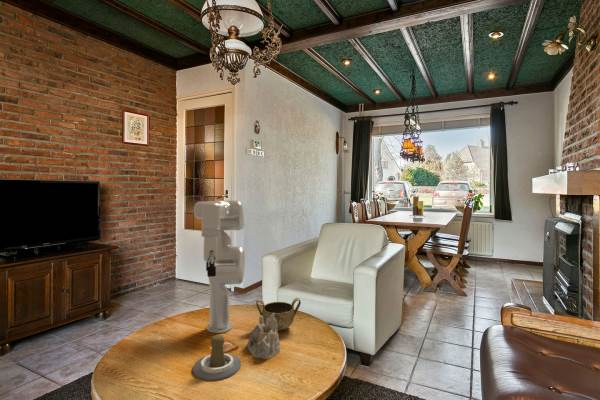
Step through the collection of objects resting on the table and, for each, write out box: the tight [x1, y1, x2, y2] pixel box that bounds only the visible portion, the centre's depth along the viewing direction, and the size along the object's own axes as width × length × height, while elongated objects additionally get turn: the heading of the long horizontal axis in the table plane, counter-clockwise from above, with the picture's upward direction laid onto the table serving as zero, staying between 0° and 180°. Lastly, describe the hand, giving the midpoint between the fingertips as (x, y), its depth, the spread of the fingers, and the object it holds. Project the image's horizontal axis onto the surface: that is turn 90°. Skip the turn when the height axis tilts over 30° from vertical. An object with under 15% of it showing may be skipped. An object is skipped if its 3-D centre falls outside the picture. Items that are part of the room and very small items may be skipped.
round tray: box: [192, 352, 242, 381], centre depth 128 cm, size 18×18×2 cm
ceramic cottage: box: [246, 313, 281, 360], centre depth 143 cm, size 16×16×15 cm
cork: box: [210, 334, 225, 368], centre depth 128 cm, size 6×6×11 cm
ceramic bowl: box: [255, 297, 302, 332], centre depth 165 cm, size 22×17×15 cm
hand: (210, 273), depth 137 cm, fingers open, 9 cm apart
